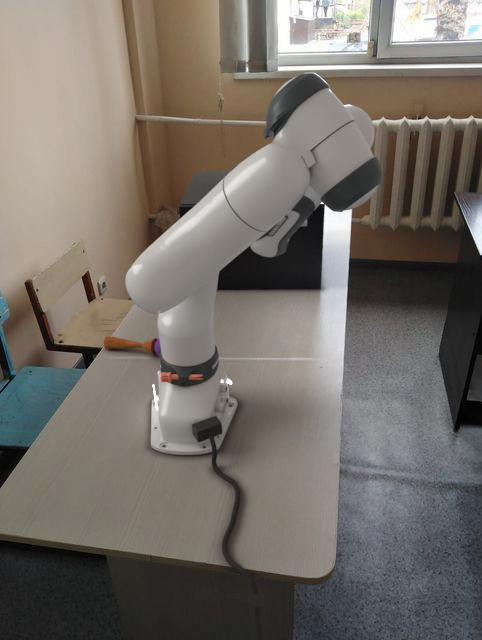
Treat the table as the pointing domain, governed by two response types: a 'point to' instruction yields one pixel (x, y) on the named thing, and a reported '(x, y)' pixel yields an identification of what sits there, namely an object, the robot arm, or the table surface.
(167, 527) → the table surface
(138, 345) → the kendama
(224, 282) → the oven door
